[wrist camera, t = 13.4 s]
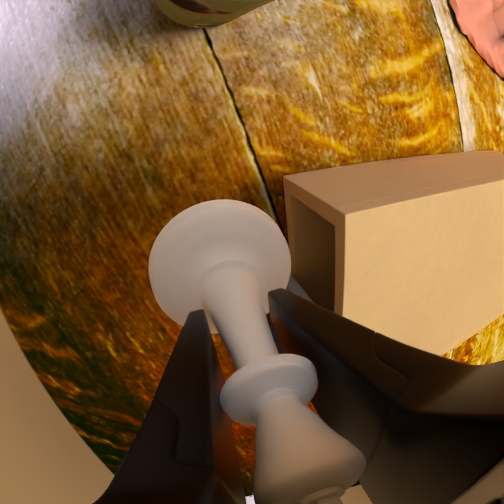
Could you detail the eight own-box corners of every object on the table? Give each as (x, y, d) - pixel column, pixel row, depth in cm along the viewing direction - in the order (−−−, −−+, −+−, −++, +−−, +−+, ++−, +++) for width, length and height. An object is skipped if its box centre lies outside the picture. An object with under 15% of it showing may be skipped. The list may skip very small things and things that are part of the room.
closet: (295, 346, 29) (333, 410, 22) (282, 175, 21) (344, 214, 14) (474, 272, 33) (517, 303, 27) (492, 149, 26) (549, 170, 19)
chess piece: (137, 313, 11) (169, 615, 2) (169, 181, 9) (286, 635, 1) (258, 330, 13) (375, 561, 4) (306, 220, 11) (540, 446, 2)
